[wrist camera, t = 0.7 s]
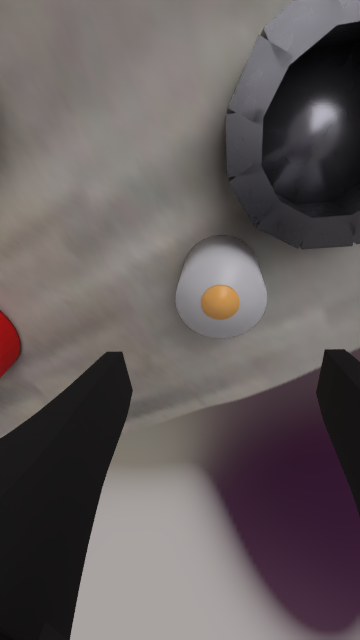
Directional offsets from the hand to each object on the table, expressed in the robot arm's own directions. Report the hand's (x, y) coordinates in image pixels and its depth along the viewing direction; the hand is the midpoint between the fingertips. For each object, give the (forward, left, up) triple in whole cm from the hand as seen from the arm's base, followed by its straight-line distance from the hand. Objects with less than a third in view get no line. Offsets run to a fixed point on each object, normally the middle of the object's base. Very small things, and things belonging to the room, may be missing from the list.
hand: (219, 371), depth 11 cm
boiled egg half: (0, 0, -10) cm, 10 cm away
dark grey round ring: (-5, -7, -9) cm, 13 cm away
